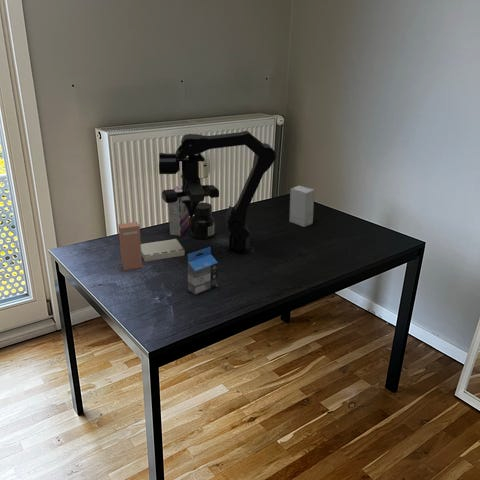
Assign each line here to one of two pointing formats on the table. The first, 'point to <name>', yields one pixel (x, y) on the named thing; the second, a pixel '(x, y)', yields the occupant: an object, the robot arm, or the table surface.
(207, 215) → the ink bottle
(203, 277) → the label tape cartridge
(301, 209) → the skincare box
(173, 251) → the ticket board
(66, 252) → the table surface
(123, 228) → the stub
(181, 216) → the candy bar box
